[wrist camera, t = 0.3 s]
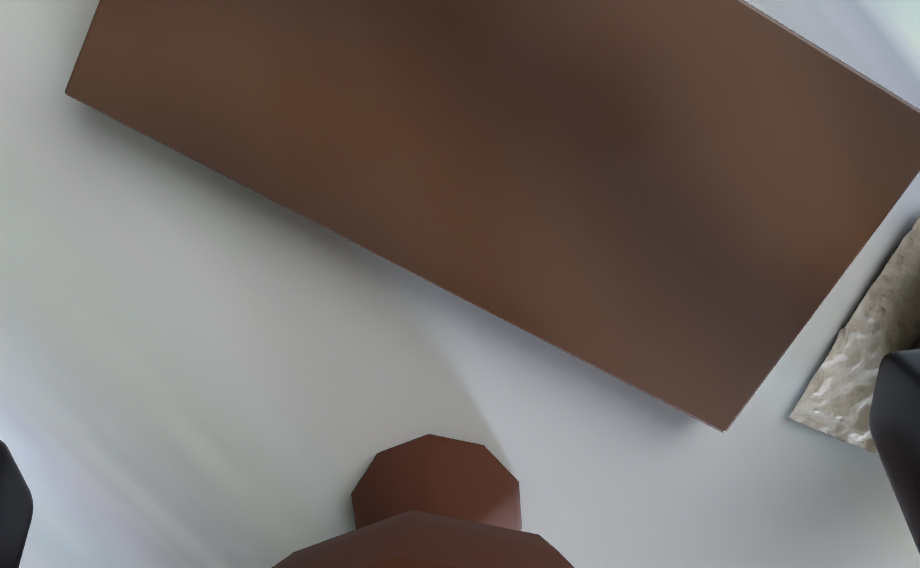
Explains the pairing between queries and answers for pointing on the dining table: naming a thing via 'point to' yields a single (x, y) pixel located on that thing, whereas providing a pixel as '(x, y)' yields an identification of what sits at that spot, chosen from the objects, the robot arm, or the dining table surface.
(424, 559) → the ice cream bowl
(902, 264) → the condiment
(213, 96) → the walnut board
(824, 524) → the dining table surface
